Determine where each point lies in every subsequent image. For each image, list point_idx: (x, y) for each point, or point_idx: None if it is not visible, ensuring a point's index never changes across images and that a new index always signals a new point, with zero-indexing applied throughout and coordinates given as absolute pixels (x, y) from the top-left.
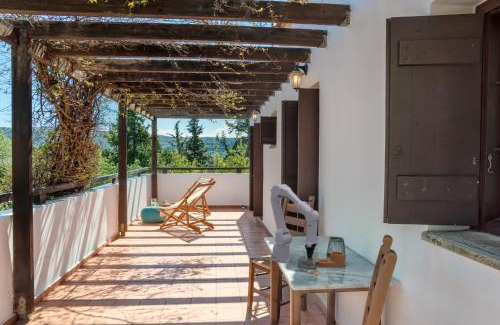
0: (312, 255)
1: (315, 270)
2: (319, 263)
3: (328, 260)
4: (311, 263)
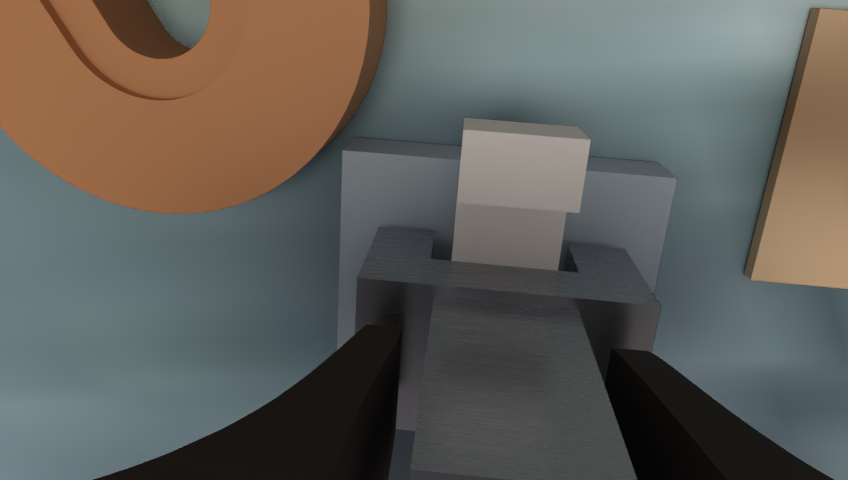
0: (505, 359)
1: (810, 127)
2: (367, 54)
3: None
4: (634, 274)
